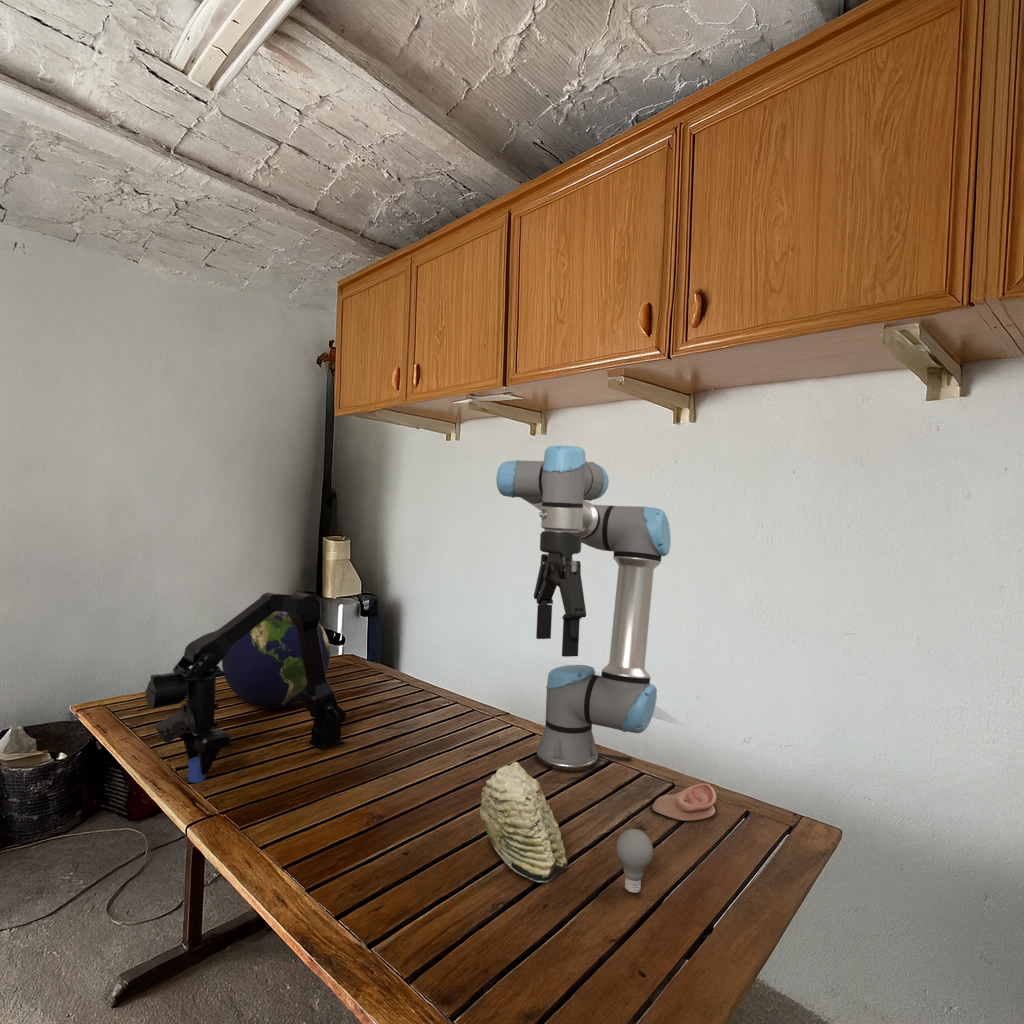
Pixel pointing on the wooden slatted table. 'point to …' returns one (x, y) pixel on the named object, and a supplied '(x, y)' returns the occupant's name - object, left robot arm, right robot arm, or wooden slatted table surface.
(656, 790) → the wooden slatted table surface
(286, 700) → the globe
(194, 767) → the cylinder
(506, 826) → the fossil
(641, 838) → the light bulb
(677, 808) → the anatomical model
